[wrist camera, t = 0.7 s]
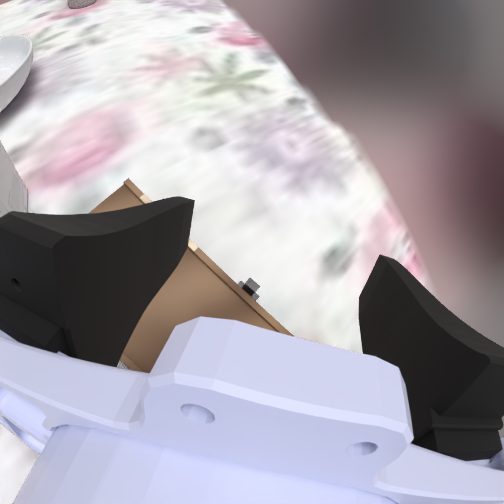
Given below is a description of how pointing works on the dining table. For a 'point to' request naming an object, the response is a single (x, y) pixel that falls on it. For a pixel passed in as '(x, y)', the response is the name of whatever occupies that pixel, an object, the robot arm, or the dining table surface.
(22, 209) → the small box
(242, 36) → the dining table surface
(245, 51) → the dining table surface
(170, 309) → the beam
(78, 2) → the coffee cup
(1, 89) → the serving bowl
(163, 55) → the dining table surface
